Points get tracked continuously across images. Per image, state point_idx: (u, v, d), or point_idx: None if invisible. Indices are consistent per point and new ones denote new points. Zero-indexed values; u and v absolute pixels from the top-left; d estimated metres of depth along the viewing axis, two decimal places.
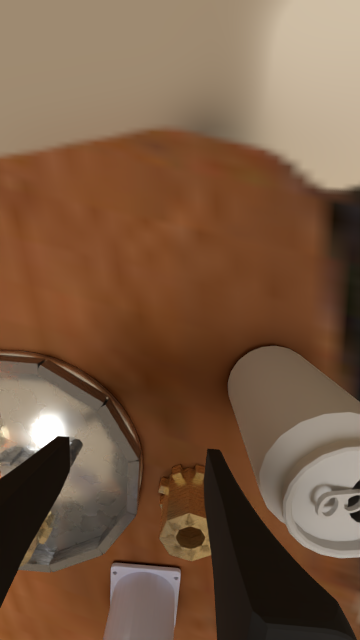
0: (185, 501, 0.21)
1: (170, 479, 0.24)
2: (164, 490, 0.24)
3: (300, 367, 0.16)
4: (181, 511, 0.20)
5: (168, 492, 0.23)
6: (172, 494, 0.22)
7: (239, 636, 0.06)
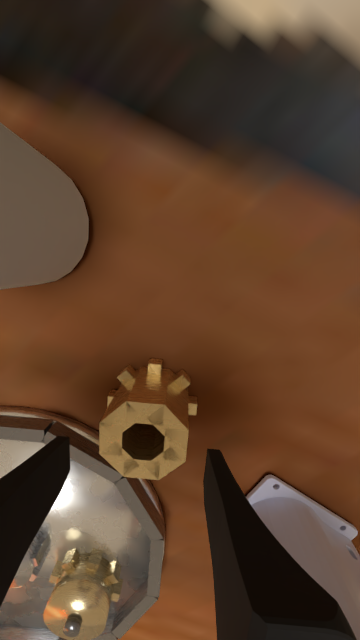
0: None
1: None
2: None
3: None
4: None
5: None
6: None
7: (239, 636, 0.06)
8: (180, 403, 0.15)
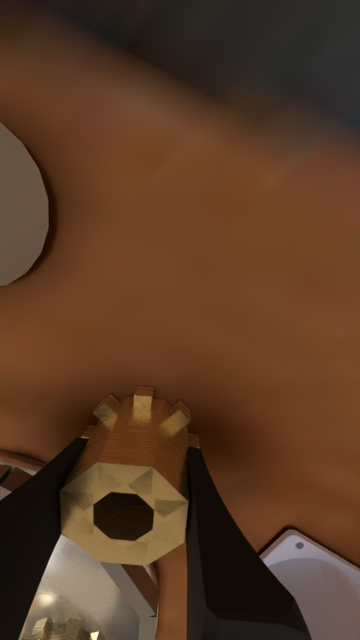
0: None
1: None
2: None
3: None
4: None
5: None
6: None
7: (198, 632, 0.06)
8: (177, 454, 0.11)
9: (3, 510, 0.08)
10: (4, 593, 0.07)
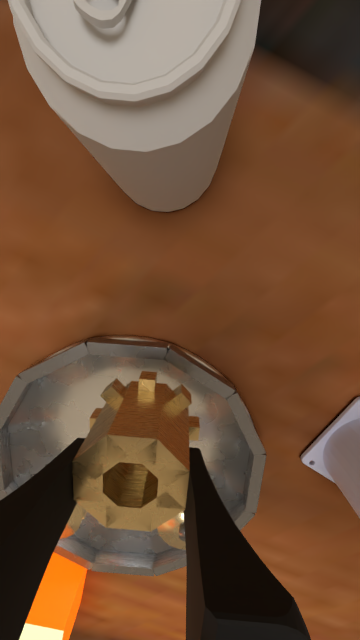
0: None
1: None
2: None
3: None
4: None
5: None
6: None
7: (197, 632, 0.06)
8: (178, 431, 0.12)
9: (3, 510, 0.08)
10: (5, 593, 0.07)
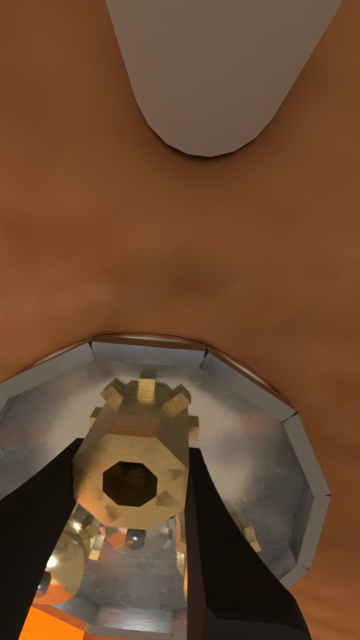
0: None
1: None
2: None
3: None
4: None
5: None
6: None
7: (198, 632, 0.06)
8: (178, 430, 0.12)
9: (2, 510, 0.08)
10: (4, 593, 0.07)
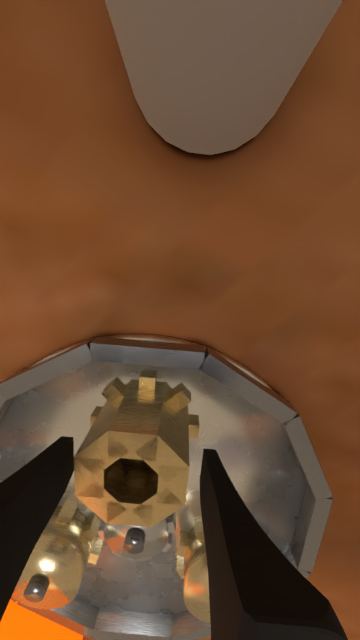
0: None
1: None
2: None
3: None
4: None
5: None
6: None
7: (231, 635, 0.06)
8: (178, 428, 0.12)
9: None
10: None
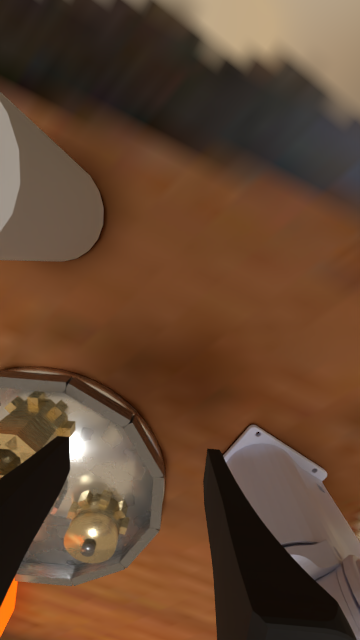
0: None
1: None
2: None
3: None
4: None
5: None
6: None
7: (239, 636, 0.06)
8: (43, 430, 0.19)
9: None
10: None
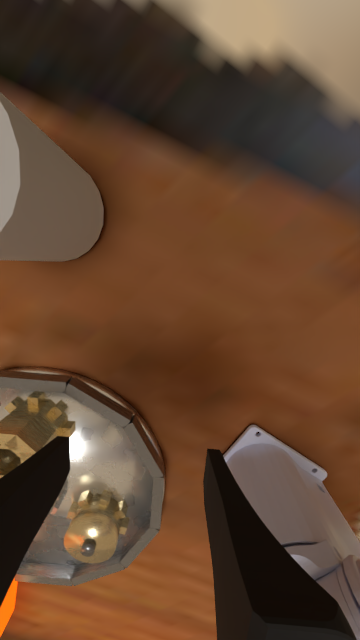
0: None
1: None
2: None
3: None
4: None
5: None
6: None
7: (239, 636, 0.06)
8: (43, 430, 0.19)
9: None
10: None
